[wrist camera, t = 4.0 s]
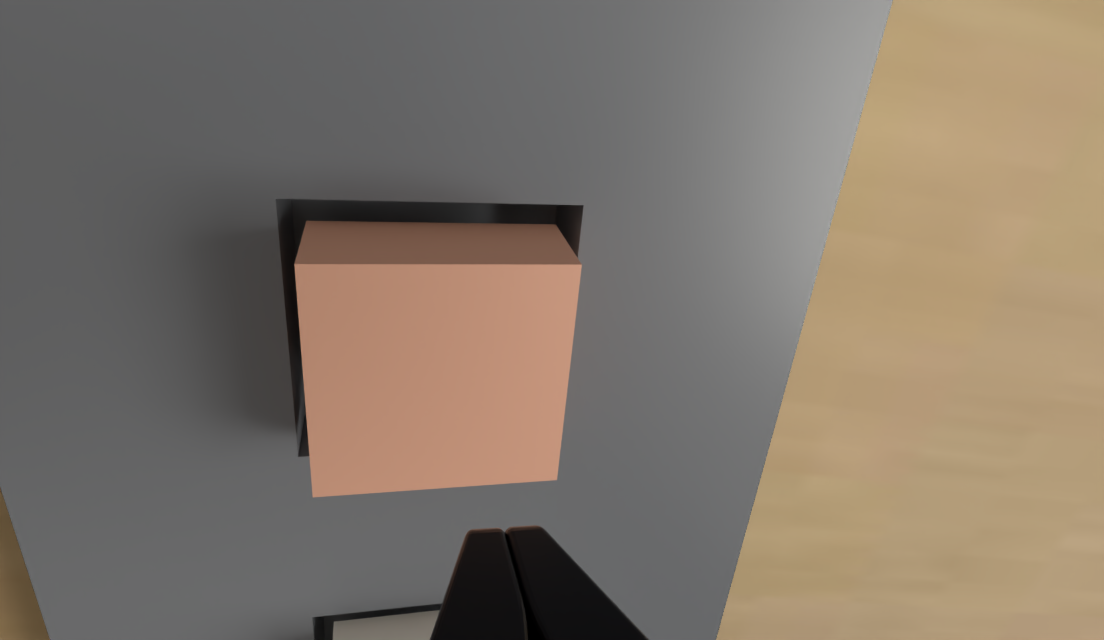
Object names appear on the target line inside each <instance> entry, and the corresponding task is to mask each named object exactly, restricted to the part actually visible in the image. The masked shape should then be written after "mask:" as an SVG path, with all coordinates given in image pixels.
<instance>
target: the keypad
mask: <svg viewBox="0 0 1104 640" xmlns="http://www.w3.org/2000/svg"><path fill="white" fill-rule="evenodd" d="M892 1H893V0H0V488H1V491H2V494H3V497H4V500H5V503H6V506H7V509H8V513H9V516H10V519H11V522H12V525H13V528H14V531H15V534H16V537H17V540H18V543H19V546H20V549H21V552H22V555H23V558H24V561H25V565H26V568H27V571H28V574H29V577H30V580H31V583H32V586H33V589H34V592H35V595H36V598H37V601H38V604H39V607H40V610H41V613H42V617H43V620H44V623H45V626H46V629H47V632H48V635H49V638H50V640H333V627H334V622H335V621H344V620H354V619H363V618H372V617H381V616H390V615H399V614H408V613H417V612H426V611H435V610H440V608H441V605H442V602H443V599H444V596H445V593H446V590H447V587H448V585H449V582H450V579H451V576H452V573H453V570H454V567H455V564H456V561H457V558H458V555H459V552H460V549H461V546H462V543H463V540H464V538H465V535H466V533H467V532H468V531H469V530H472V529H485V528H500V529H502V530H503V531H504V532H505V530H506V529H508V528H509V527H516V526H532V525H537V526H541V527H542V528H544V529H545V530H546V531H547V532H548V533H549V534H550V535H551V536H552V537H553V538H554V539H555V541H556V542H557V543H558V544H559V545H560V546H561V547H562V548H563V549H564V550H565V551H566V552H567V553H568V554H569V555H570V556H571V557H572V559H573V560H574V561H575V562H576V563H577V564H578V565H579V566H580V567H581V568H582V569H583V570H584V571H585V572H586V573H587V574H588V575H589V577H590V578H591V579H592V580H593V581H594V582H595V583H596V584H597V585H598V586H599V587H600V588H601V589H602V590H603V591H604V592H605V593H606V595H607V596H608V597H609V598H610V599H611V600H612V601H613V602H614V603H615V604H616V605H617V606H618V607H619V608H620V609H621V610H622V611H623V613H624V614H625V615H626V616H627V617H628V618H629V619H630V620H631V621H632V622H633V623H634V624H635V625H636V626H637V627H638V628H639V629H640V631H641V632H642V633H643V634H644V635H645V636H646V637H647V638H648V639H649V640H716V637H717V634H718V630H719V626H720V623H721V619H722V616H723V612H724V608H725V605H726V601H727V597H728V594H729V590H730V587H731V583H732V579H733V576H734V572H735V569H736V565H737V561H738V558H739V554H740V550H741V547H742V543H743V540H744V536H745V532H746V529H747V525H748V522H749V518H750V514H751V511H752V507H753V503H754V500H755V496H756V493H757V489H758V485H759V482H760V478H761V475H762V471H763V467H764V464H765V460H766V456H767V453H768V449H769V446H770V442H771V438H772V435H773V431H774V428H775V424H776V420H777V417H778V413H779V409H780V406H781V402H782V399H783V395H784V391H785V388H786V384H787V381H788V377H789V373H790V370H791V366H792V362H793V359H794V355H795V352H796V348H797V344H798V341H799V337H800V334H801V330H802V326H803V323H804V319H805V315H806V312H807V308H808V305H809V301H810V297H811V294H812V290H813V287H814V283H815V279H816V276H817V272H818V268H819V265H820V261H821V258H822V254H823V250H824V247H825V243H826V240H827V236H828V232H829V229H830V225H831V221H832V218H833V214H834V211H835V207H836V203H837V200H838V196H839V193H840V189H841V185H842V182H843V178H844V174H845V171H846V167H847V164H848V160H849V156H850V153H851V149H852V146H853V142H854V138H855V135H856V131H857V127H858V124H859V120H860V117H861V113H862V109H863V106H864V102H865V99H866V95H867V91H868V88H869V84H870V80H871V77H872V73H873V70H874V66H875V62H876V59H877V55H878V52H879V48H880V44H881V41H882V37H883V33H884V30H885V26H886V23H887V19H888V15H889V12H890V8H891V5H892ZM306 221H360V222H428V223H496V224H556V226H557V227H558V229H559V230H560V232H561V233H562V235H563V236H564V238H565V239H566V241H567V242H568V244H569V246H570V247H571V249H572V250H573V252H574V253H575V255H576V256H577V258H578V259H579V261H580V262H581V264H582V268H581V277H580V285H579V294H578V303H577V311H576V320H575V328H574V337H573V346H572V354H571V363H570V372H569V380H568V389H567V398H566V406H565V415H564V423H563V432H562V441H561V449H560V458H559V467H558V475H557V480H551V481H537V482H523V483H509V484H495V485H481V486H466V487H452V488H438V489H424V490H410V491H396V492H382V493H368V494H354V495H340V496H326V497H313V495H312V482H311V469H310V457H309V444H308V431H307V418H306V406H305V393H304V380H303V368H302V355H301V342H300V330H299V317H298V304H297V291H296V279H295V266H294V264H295V260H296V256H297V253H298V249H299V246H300V242H301V238H302V235H303V231H304V227H305V224H306Z"/></svg>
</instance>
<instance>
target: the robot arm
mask: <svg viewBox="0 0 1104 640" xmlns="http://www.w3.org/2000/svg"><path fill="white" fill-rule="evenodd" d="M430 640H649V639H648V638H647V637H646V636H645V635H644V634H643V633H642V632H641V631H640V629H639V628H638V627H637V626H636V625H635V624H634V623H633V622H632V621H631V620H630V619H629V618H628V617H627V616H626V615H625V614H624V613H623V611H622V610H621V609H620V608H619V607H618V606H617V605H616V604H615V603H614V602H613V601H612V600H611V599H610V598H609V597H608V596H607V595H606V593H605V592H604V591H603V590H602V589H601V588H600V587H599V586H598V585H597V584H596V583H595V582H594V581H593V580H592V579H591V578H590V577H589V575H588V574H587V573H586V572H585V571H584V570H583V569H582V568H581V567H580V566H579V565H578V564H577V563H576V562H575V561H574V560H573V559H572V557H571V556H570V555H569V554H568V553H567V552H566V551H565V550H564V549H563V548H562V547H561V546H560V545H559V544H558V543H557V542H556V541H555V539H554V538H553V537H552V536H551V535H550V534H549V533H548V532H547V531H546V530H545V529H544V528H542V527H541V526H537V525H532V526H516V527H509V528H508V529H506V530H505V532H504V531H503V530H502V529H500V528H485V529H472V530H469V531H468V532H467V533H466V535H465V538H464V540H463V543H462V546H461V549H460V552H459V555H458V558H457V561H456V564H455V567H454V570H453V573H452V576H451V579H450V582H449V585H448V587H447V590H446V593H445V596H444V599H443V602H442V605H441V608H440V611H439V614H438V617H437V620H436V623H435V626H434V629H433V632H432V634H431V637H430Z"/></svg>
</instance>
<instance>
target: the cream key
mask: <svg viewBox="0 0 1104 640" xmlns="http://www.w3.org/2000/svg"><path fill="white" fill-rule="evenodd" d="M439 611H440V610H435V611H426V612H417V613H408V614H399V615H390V616H381V617H372V618H363V619H354V620H344V621H335V622H334V627H333V640H430V637H431V634H432V632H433V629H434V626H435V623H436V620H437V617H438V614H439Z"/></svg>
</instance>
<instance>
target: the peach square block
mask: <svg viewBox="0 0 1104 640" xmlns="http://www.w3.org/2000/svg"><path fill="white" fill-rule="evenodd" d="M294 266H295V279H296V291H297V304H298V317H299V330H300V342H301V355H302V368H303V380H304V393H305V406H306V418H307V431H308V444H309V457H310V469H311V482H312V495H313V497H326V496H340V495H354V494H368V493H382V492H396V491H410V490H424V489H438V488H452V487H466V486H481V485H495V484H509V483H523V482H537V481H551V480H557V475H558V467H559V458H560V449H561V441H562V432H563V423H564V415H565V406H566V398H567V389H568V380H569V372H570V363H571V354H572V346H573V337H574V328H575V320H576V311H577V303H578V294H579V285H580V277H581V268H582V264H581V262H580V261H579V259H578V258H577V256H576V255H575V253H574V252H573V250H572V249H571V247H570V246H569V244H568V242H567V241H566V239H565V238H564V236H563V235H562V233H561V232H560V230H559V229H558V227H557V226H556V224H496V223H428V222H360V221H306V224H305V227H304V231H303V235H302V238H301V242H300V246H299V249H298V253H297V256H296V260H295V264H294Z"/></svg>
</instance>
